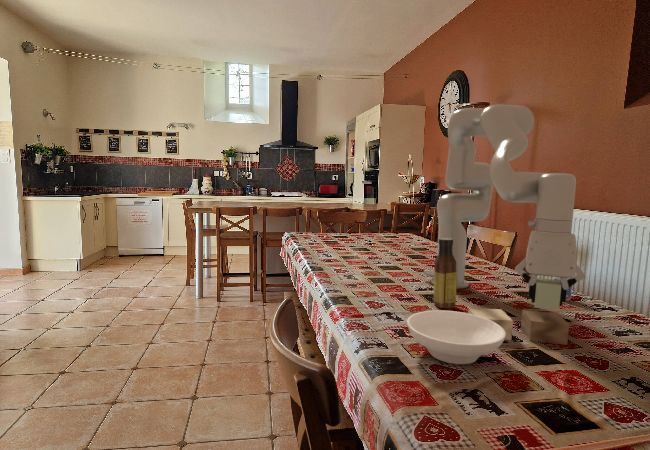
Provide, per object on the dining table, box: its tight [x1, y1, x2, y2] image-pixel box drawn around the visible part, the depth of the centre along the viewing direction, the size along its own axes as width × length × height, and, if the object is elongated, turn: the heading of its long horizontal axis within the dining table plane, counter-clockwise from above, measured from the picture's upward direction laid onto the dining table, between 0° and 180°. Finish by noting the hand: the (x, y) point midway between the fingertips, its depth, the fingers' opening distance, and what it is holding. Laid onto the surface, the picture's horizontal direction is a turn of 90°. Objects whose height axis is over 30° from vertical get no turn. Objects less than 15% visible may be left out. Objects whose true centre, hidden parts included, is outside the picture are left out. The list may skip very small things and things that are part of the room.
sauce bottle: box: [433, 238, 457, 310], centre depth 119 cm, size 7×6×20 cm
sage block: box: [533, 277, 561, 312], centre depth 98 cm, size 5×5×6 cm
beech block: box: [467, 307, 514, 341], centre depth 100 cm, size 8×8×5 cm
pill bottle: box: [552, 277, 573, 302], centre depth 130 cm, size 6×5×10 cm
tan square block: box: [520, 309, 570, 345], centre depth 99 cm, size 8×8×5 cm
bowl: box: [406, 309, 506, 365], centre depth 86 cm, size 20×20×7 cm
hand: (546, 302), depth 98 cm, fingers closed on sage block, 5 cm apart
